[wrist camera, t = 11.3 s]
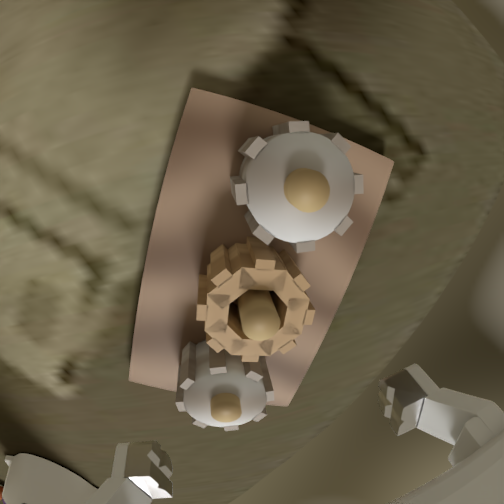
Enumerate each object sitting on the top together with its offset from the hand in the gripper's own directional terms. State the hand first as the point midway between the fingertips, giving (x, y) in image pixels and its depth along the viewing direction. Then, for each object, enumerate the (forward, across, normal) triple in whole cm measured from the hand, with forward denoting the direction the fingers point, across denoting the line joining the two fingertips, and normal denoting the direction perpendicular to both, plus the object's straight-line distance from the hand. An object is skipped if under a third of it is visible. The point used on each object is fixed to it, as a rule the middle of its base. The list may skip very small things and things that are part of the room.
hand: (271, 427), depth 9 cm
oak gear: (+12, -1, 0) cm, 12 cm away
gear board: (+13, -1, 0) cm, 13 cm away
